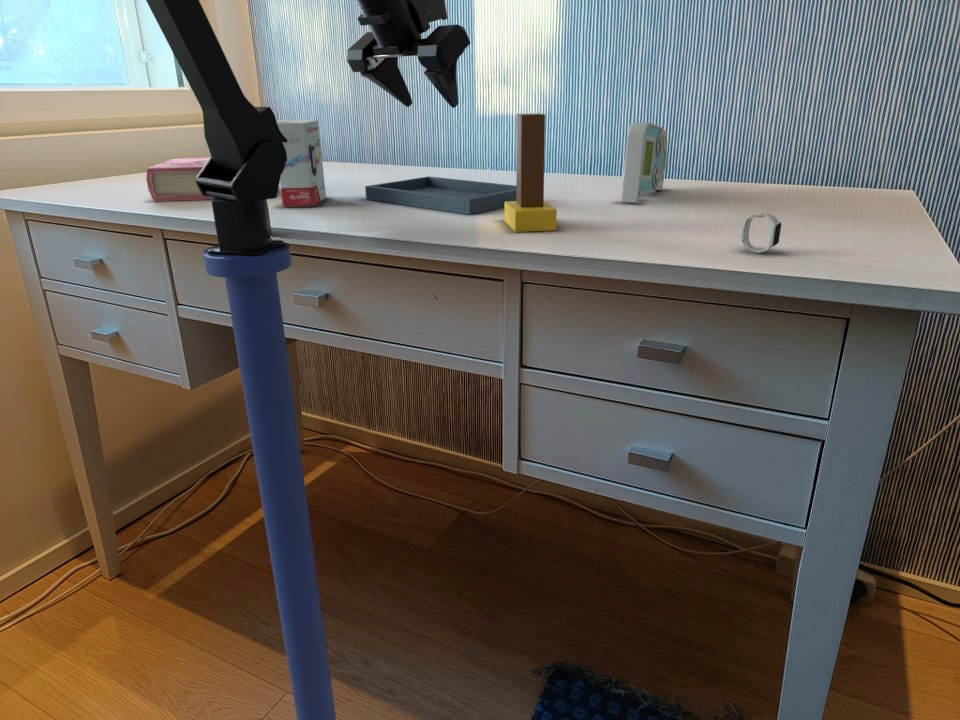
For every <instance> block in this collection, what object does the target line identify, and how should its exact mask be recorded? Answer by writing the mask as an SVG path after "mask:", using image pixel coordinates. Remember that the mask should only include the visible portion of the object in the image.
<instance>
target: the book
mask: <svg viewBox="0 0 960 720" xmlns="http://www.w3.org/2000/svg"><path fill="white" fill-rule="evenodd" d="M210 157H211V156H209V157H179V158H172V159H169V160H163V161H164V162H161V163H158V164H155V165H154V164H153V165H151V166H149V167H147V168H146V179H145V180H146V185H147V190H148V192H149V195H150V197H151V199H152V201H153V202H171V201H199V200H213V198H215V197H211V196H203V195H202V193H201V192H200V190H199V188H198V186H197V184H196V182H195V178H196V177H197V175H198V174H199V173H200V171H201V170H202V168H203V167H204V165H205V164H206V163H207V161H208V160H209V158H210Z"/></svg>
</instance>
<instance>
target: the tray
mask: <svg viewBox="0 0 960 720" xmlns="http://www.w3.org/2000/svg"><path fill="white" fill-rule="evenodd" d="M364 188H365V200H368V201H375V202H382V203H389V204H396V205H403V206H410V207H416V208H423V209H429V210H436V211H443V212H449V213H450V212H451V213H457V214H464V215H473V214H478V213H482V212H488V211H493V210H496V209H501V208H505V202H508V201H516V185H515V184H504V183H494V182H486V181H475V180H467V179H456V178H448V177H438V176H428V175H427V176H422V177H416V178H408V179H403V180H396V181H389V182H383V183H377V184H370V185H365V187H364Z"/></svg>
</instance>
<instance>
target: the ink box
mask: <svg viewBox="0 0 960 720" xmlns="http://www.w3.org/2000/svg"><path fill="white" fill-rule="evenodd" d="M276 121H277V125H278V128H279V130H280V131H281V133H282V135H283V136H284V137H285V138H286V139H287V143H284V142H282V143H283V144H284V146H285V149H286V153H287V162H286V163H285V167H284V171H283V172H282V174H281V177H280V182H279V188H280V189H279V190H280V198H281V207H284V208H295V207H296V208H300V207H301V208H304V207H315V206H317V205H318V204H319V203H321V202H322V201H324V200H326V198H327V192H326V184H325V183H326V182H325V175H324V165H323V155H322V144H321V136H320V126H319V120H318V119H282V120H276Z"/></svg>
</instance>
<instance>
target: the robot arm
mask: <svg viewBox="0 0 960 720" xmlns="http://www.w3.org/2000/svg"><path fill="white" fill-rule="evenodd" d="M145 2H146V3H147V5H148V7H149V10H150V12H151V13H152V15H153V17H154V19H155V21H156V23H157V25H158V26H159V29H160V30H161V33H162V34H163V36H164V39H165V40H166V42H167V44H168V46H169V48H170V50H171V52H172V53H173V56H174V57H175V59H176V62H177V63H178V65H179V67H180V70H181V71H182V73H183V75H184V77H185V79H186V81H187V83H188V84H189V87H190V88H191V91H192V92H193V95H194V97H195V98H196V100H197V102H198V104H199V106H200V109H201V112H202V120H203V133H204V139H205V142H206V145H207V148H208V150H209V153H210V156H209V157H210V158H209V157H208V158H209V160H208V161H207V163H206V164H205V165H204V167H203V168H202V170H201V171H200V173H199V174H198V175H197V177H196V178H195V182H196V184H197V186H198V188H199V190H200V192H201V193H202V195H203V196H211V197H215V198H213V199H212V200H210V201H211V202H210V203H211V208H212V213H213V219H214V227H215V232H216V239H217V244H218V245H219V246H217V245H216V246H217V247H214V246H213V247H214V248H212V249H209V250H208V254H210V255H233V256H260V255H262V254H264V253H266V252H269V251H271V250H273V249H275V248H277V247H280V246H282V245H284V240H279V239H273V238H272V227H271V219H270V218H271V217H270V210H269V205H268V200H272V199H276V198H278V193H279V188H280V177H281V174H282V172H283V171H284V167H285V163H286V162H287V153H286V149H285V146H284V144H283V143H282V142H284V143H287V139H286V138H285V137H284V136H283V135H282V133H281V131H280V130H279V128H278V125H277V121H278V120H277V118H276V115H275V113H274V111H273V110H272V108H271V107H270V106H254V105H253V103H251V101H249V99H247V97H246V95H245V94H244V92H243V90H242V88H241V86H240V84H239V82H238V79H237V77H236V75H235V73H234V71H233V69H232V67H231V65H230V63H229V60H228V59H227V56H226V54H225V52H224V50H223V48H222V46H221V43H220V41H219V40H218V37H217V35H216V33H215V31H214V29H213V26H212V25H211V22H210V20H209V18H208V16H207V14H206V12H205V9H204V8H203V5H202V3H201V1H200V0H145ZM355 2H356V4H357V6H358V8H359V10H360V12H361V14H360V15H359V16H357V18H356V19H357V21H358V23H359V25H360V27H362V26H363V27H364V26H367V27H369V29H370V31H367V32H365V33H364V34H363V35H362V36H361V37H360V38H358V39H357V40H356V42H354V43H353V44H352V45H351V46H350V47H349V48H348V49H347V52H346V62H347V64H348V65H349V67H350V69H351V71H352V73H359V74H360V76H361V77H362V78H366V79H367V80H369V81H370V82H372V83H373V84H375V85H376V86H378V87H379V88H381V89H382V90H384V91H385V92H386V93H388V94H389V95H390V96H392V97H393V98H394V99H395V100H397V101H398V102H400V103H401V104H402V105H404V107H406V108H409V107H411V106H412V105H413V100H412V97H411V93H410V91H409V88H408V86H407V84H406V82H405V78H403V74H402V72H401V70H400V68H399V58H401V57H415V56H416V57H417V60H418V62H419V64H420V66H422V67H423V68H424V69H426V70H424V71H423V74H424V76H425V77H426V78H427V79H428V80H429V82H430V83H431V84H432V86H434V88H435V89H436V91H437V92H438V93H439V94H440V95H441V97H442V98H443V100H445V102H446V103H447V104H448V105H449V106H450V107H451V108H452V109H455V108H456V107H457V106H458V105H459V93H458V92H459V90H458V79H457V78H458V77H457V64H458V60H459V58H460V57H461V56H462V55H463V54H464V53H465V50H466V49H467V48H468V47H469V46H470V45H471V40H470V38H469V35H468V32H467V30H466V27H465V26H462V25H460V24H457V23H456V24H445V25H438V26H437V27H435V29H434V30H433V31H431V33H430V34H429V35H428V36H427V37H426V38H425V37H424V38H422V35H423V33H426V32H428V31H429V30H430V29H431V25H430V23H433V22H436V21H439V20H442V21H445V20H447V19H449V18H448V12H447V7H446V5H447V4H446V0H355Z"/></svg>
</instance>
